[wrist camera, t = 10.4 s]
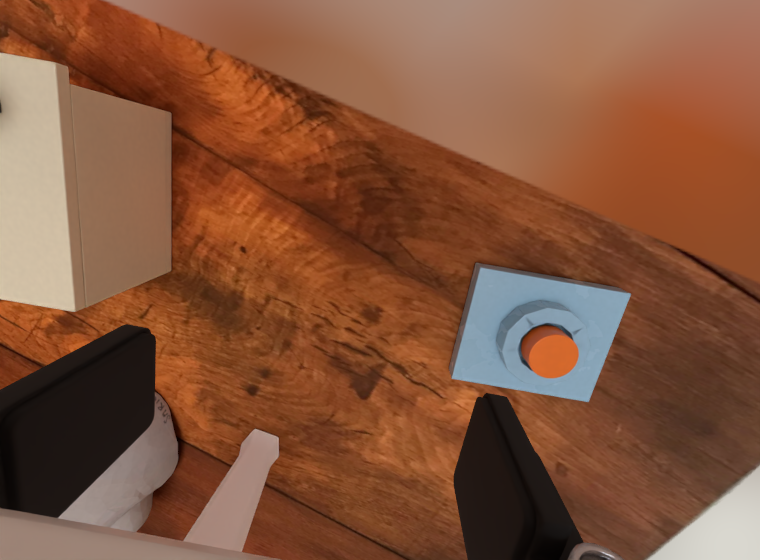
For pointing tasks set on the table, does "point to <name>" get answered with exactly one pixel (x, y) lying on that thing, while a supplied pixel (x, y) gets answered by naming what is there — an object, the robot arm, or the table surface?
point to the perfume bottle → (237, 495)
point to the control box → (522, 314)
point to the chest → (121, 191)
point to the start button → (549, 351)
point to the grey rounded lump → (131, 478)
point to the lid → (38, 187)
